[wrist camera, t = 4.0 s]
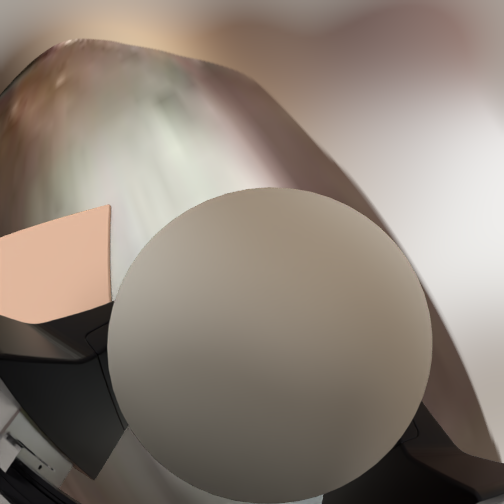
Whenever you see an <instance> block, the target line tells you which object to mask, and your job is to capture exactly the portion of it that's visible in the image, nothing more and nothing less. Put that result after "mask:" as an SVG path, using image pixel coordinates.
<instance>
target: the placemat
mask: <svg viewBox="0 0 504 504" xmlns="http://www.w3.org/2000/svg"><path fill="white" fill-rule="evenodd" d="M110 215H111V206H110V205H105V206H101V207H97V208H94V209H90V210H86V211H83V212H79V213H75V214H72V215H68V216H65V217H62V218H58V219H55V220H52V221H48V222H45V223H42V224H39V225H36V226H33V227H30V228H27V229H24V230H21V231H18V232H15V233H12V234H9V235H6V236H4V237H1V238H0V315H2V316H5V317H8V318H11V319H14V320H17V321H21V322H24V323H30V324H38V323H44V322H48V321H51V320H55V319H59V318H62V317H66V316H69V315H73V314H77V313H80V312H83V311H86V310H90V309H93V308H95V307H98V306H101V305H104V304H106V303H109V302H111V284H110Z"/></svg>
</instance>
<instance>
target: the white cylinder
mask: <svg viewBox="0 0 504 504" xmlns="http://www.w3.org/2000/svg"><path fill="white" fill-rule="evenodd" d="M107 351H108V365H109V372H110V377H111V382H112V387H113V390H114V393H115V396H116V399H117V402H118V404H119V407H120V410H121V412H122V414H123V416H124V417H125V419H126V421H127V423H128V425H129V427H130V429H131V430H132V431H133V433H134V434H135V436H136V437H137V438H138V440H139V441H140V443H141V444H142V445H143V446H144V448H145V449H146V450H147V451H148V452H149V453H150V454H151V455H152V456H153V457H154V458H155V459H156V460H157V461H158V462H159V463H160V464H162V465H163V466H164V467H165V468H166V469H168V470H169V471H170V472H172V473H173V474H174V475H176V476H177V477H179V478H181V479H182V480H184V481H186V482H187V483H189V484H191V485H192V486H194V487H197V488H199V489H201V490H204V491H206V492H208V493H211V494H213V495H217V496H220V497H224V498H227V499H231V500H235V501H242V502H249V503H286V502H294V501H300V500H305V499H308V498H312V497H316V496H319V495H322V494H325V493H328V492H330V491H332V490H335V489H337V488H340V487H342V486H344V485H345V484H347V483H349V482H351V481H352V480H354V479H356V478H358V477H359V476H361V475H362V474H363V473H365V472H366V471H367V470H369V469H370V468H371V467H373V466H374V465H375V464H377V463H378V462H379V461H380V460H381V459H382V458H383V457H384V456H385V455H386V454H387V453H388V452H389V451H390V450H391V449H392V448H393V447H394V445H395V444H396V443H397V441H398V440H399V439H400V438H401V436H402V435H403V434H404V432H405V431H406V429H407V428H408V426H409V424H410V423H411V421H412V419H413V417H414V416H415V414H416V412H417V409H418V407H419V405H420V402H421V400H422V398H423V395H424V392H425V388H426V385H427V381H428V377H429V373H430V366H431V358H432V329H431V321H430V314H429V310H428V306H427V302H426V299H425V295H424V292H423V290H422V287H421V285H420V282H419V280H418V278H417V276H416V274H415V272H414V270H413V268H412V267H411V265H410V263H409V261H408V260H407V258H406V257H405V256H404V254H403V253H402V252H401V250H400V249H399V248H398V246H397V245H396V244H395V243H394V241H393V240H392V239H391V238H390V237H389V236H388V235H387V234H386V233H385V232H384V231H383V230H382V229H381V228H379V227H378V226H377V225H376V224H374V223H373V222H372V221H371V220H369V219H368V218H367V217H366V216H364V215H362V214H361V213H359V212H357V211H356V210H354V209H352V208H351V207H349V206H347V205H345V204H343V203H340V202H338V201H336V200H334V199H331V198H329V197H326V196H322V195H319V194H316V193H312V192H308V191H302V190H297V189H290V188H270V187H268V188H256V189H246V190H242V191H237V192H232V193H227V194H224V195H222V196H219V197H216V198H213V199H210V200H207V201H205V202H203V203H201V204H199V205H197V206H195V207H193V208H191V209H189V210H187V211H186V212H184V213H183V214H181V215H180V216H178V217H177V218H175V219H174V220H172V221H171V222H170V223H168V224H167V225H166V226H165V227H164V228H163V229H161V230H160V231H159V232H158V233H157V234H156V235H155V236H154V237H153V238H152V239H151V240H150V241H149V242H148V243H147V245H146V246H145V247H144V248H143V249H142V250H141V252H140V253H139V254H138V256H137V257H136V259H135V260H134V262H133V263H132V265H131V266H130V268H129V270H128V271H127V273H126V275H125V277H124V279H123V281H122V283H121V285H120V288H119V290H118V293H117V296H116V299H115V302H114V305H113V308H112V313H111V318H110V323H109V330H108V344H107Z"/></svg>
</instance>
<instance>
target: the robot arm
mask: <svg viewBox="0 0 504 504" xmlns="http://www.w3.org/2000/svg"><path fill="white" fill-rule="evenodd" d="M113 305H114V301H112V302H109V303H106V304H104V305H101V306H98V307H95V308H93V309H90V310H86V311H83V312H80V313H77V314H73V315H69V316H66V317H62V318H59V319H55V320H51V321H48V322H44V323H38V324H30V323H24V322H21V321H17V320H14V319H11V318H8V317H5V316H2V315H0V504H81V503H79V502H78V501H76V500H75V499H73V498H72V497H70V496H69V495H67V494H66V493H64V492H63V491H61V490H60V489H59V488H60V486H61V485H62V483H63V481H64V480H65V478H66V477H67V475H68V473H69V472H70V470H71V468H72V467H74V468H75V469H77V470H78V471H80V472H81V473H83V474H85V475H86V476H88V477H89V478H91V479H93V480H95V479H96V477H97V476H98V474H99V472H100V471H101V469H102V467H103V466H104V464H105V462H106V461H107V459H108V458H109V456H110V454H111V453H112V451H113V449H114V448H115V446H116V444H117V443H118V441H119V440H120V438H121V436H122V435H123V433H124V431H125V430H126V428H127V426H128V423H127V421H126V419H125V417H124V416H123V414H122V412H121V410H120V407H119V404H118V402H117V399H116V396H115V393H114V390H113V387H112V382H111V377H110V372H109V365H108V351H107V344H108V330H109V323H110V318H111V313H112V308H113ZM322 504H504V463H500V462H495V461H491V460H487V459H483V458H479V457H476V456H472V455H469V454H466V453H464V452H463V451H461V450H460V449H459V448H458V447H457V446H456V445H455V444H454V443H453V442H452V440H451V439H450V438H449V436H448V435H447V434H446V433H445V431H444V430H443V429H442V427H441V426H440V425H439V424H438V422H437V421H436V420H435V418H434V417H433V416H432V415H431V413H430V412H429V411H428V409H427V408H426V406H425V405H424V404H423V402H422V401H421V402H420V405H419V407H418V409H417V412H416V414H415V416H414V417H413V419H412V421H411V423H410V424H409V426H408V428H407V429H406V431H405V432H404V434H403V435H402V436H401V438H400V439H399V440H398V441H397V443H396V444H395V445H394V447H393V448H392V449H391V450H390V451H389V452H388V453H387V454H386V455H385V456H384V457H383V458H382V459H381V460H380V461H379V462H378V463H377V464H375V465H374V466H373V467H371V468H370V469H369V470H367V471H366V472H365V473H363V474H362V475H361V476H359V477H358V478H356V479H354V480H352V481H351V482H349V483H347V484H345V485H344V486H342V487H340V488H337V489H335V490H332V491H330V492H328V493H325V494H323V500H322Z"/></svg>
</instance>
